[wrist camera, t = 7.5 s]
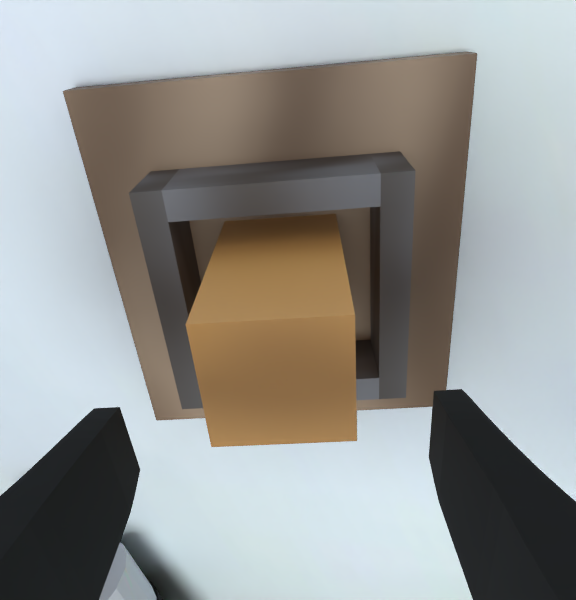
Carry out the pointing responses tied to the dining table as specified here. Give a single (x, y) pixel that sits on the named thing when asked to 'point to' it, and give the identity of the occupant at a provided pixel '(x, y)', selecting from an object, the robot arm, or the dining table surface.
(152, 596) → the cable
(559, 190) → the dining table surface
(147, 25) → the dining table surface
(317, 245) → the orange rectangular block
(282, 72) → the holder
